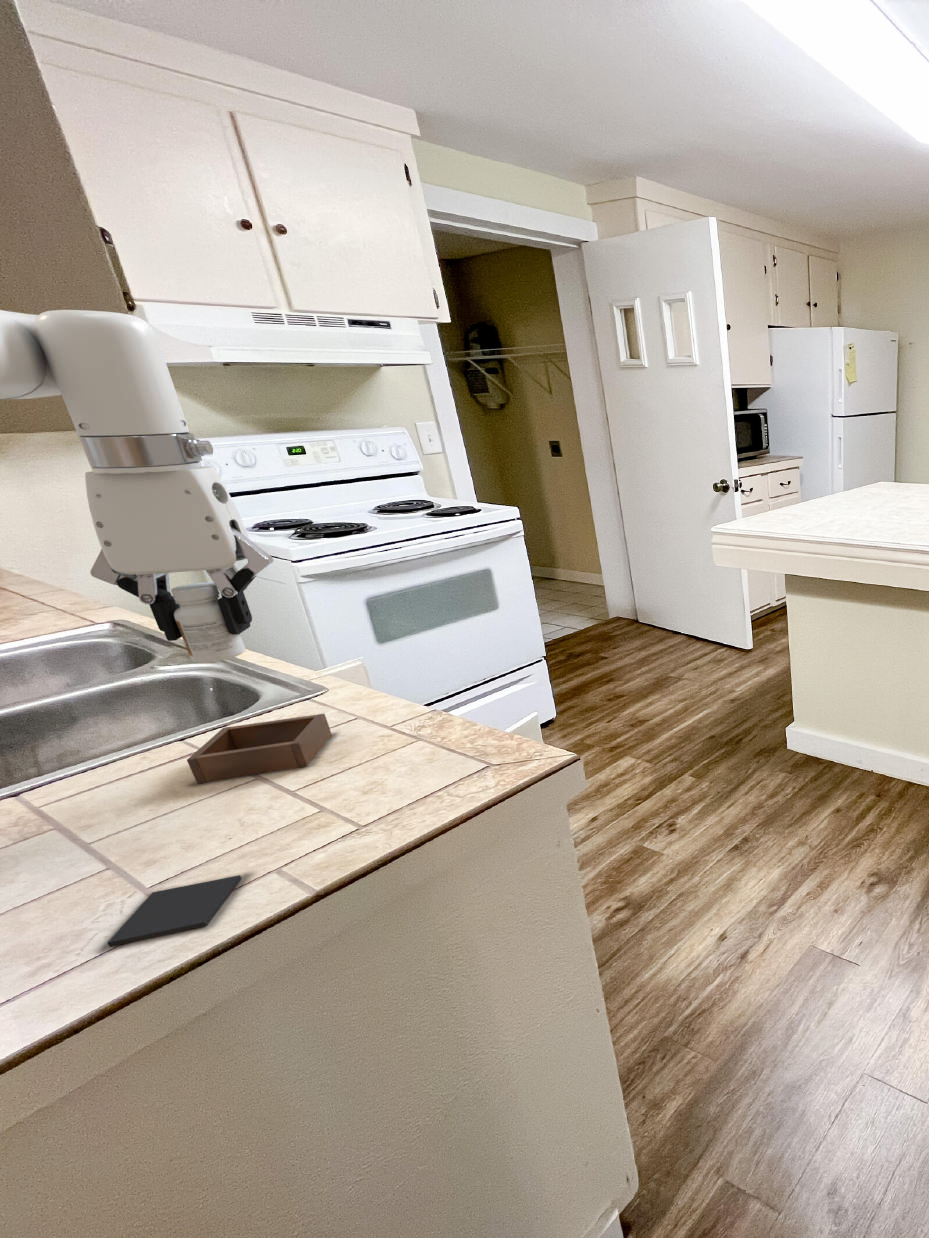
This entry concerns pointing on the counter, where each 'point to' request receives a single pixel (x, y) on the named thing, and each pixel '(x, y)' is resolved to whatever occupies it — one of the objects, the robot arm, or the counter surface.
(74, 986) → the counter surface
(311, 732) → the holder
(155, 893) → the coaster
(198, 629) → the pill bottle
